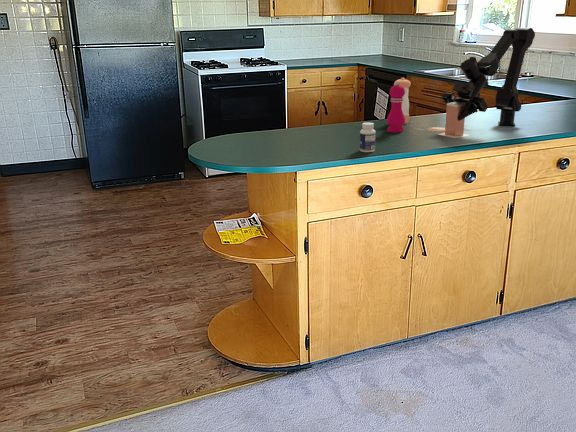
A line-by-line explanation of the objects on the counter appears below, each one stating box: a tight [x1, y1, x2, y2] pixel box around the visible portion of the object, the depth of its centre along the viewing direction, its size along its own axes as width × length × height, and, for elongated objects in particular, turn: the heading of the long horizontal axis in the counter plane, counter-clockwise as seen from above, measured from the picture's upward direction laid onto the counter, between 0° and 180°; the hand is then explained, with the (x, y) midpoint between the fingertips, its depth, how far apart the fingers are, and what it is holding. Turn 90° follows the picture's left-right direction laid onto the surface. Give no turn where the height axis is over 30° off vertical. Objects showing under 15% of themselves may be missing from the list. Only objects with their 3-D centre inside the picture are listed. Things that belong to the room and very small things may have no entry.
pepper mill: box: [386, 81, 405, 133], centre depth 236 cm, size 7×7×20 cm
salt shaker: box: [393, 77, 411, 125], centre depth 254 cm, size 7×7×19 cm
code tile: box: [437, 132, 469, 139], centre depth 230 cm, size 9×9×1 cm
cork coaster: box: [426, 126, 445, 134], centre depth 239 cm, size 10×10×1 cm
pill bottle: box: [359, 121, 376, 153], centre depth 206 cm, size 5×5×10 cm
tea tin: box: [444, 102, 466, 136], centre depth 228 cm, size 5×5×12 cm
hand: (452, 119), depth 227 cm, fingers closed on tea tin, 5 cm apart
